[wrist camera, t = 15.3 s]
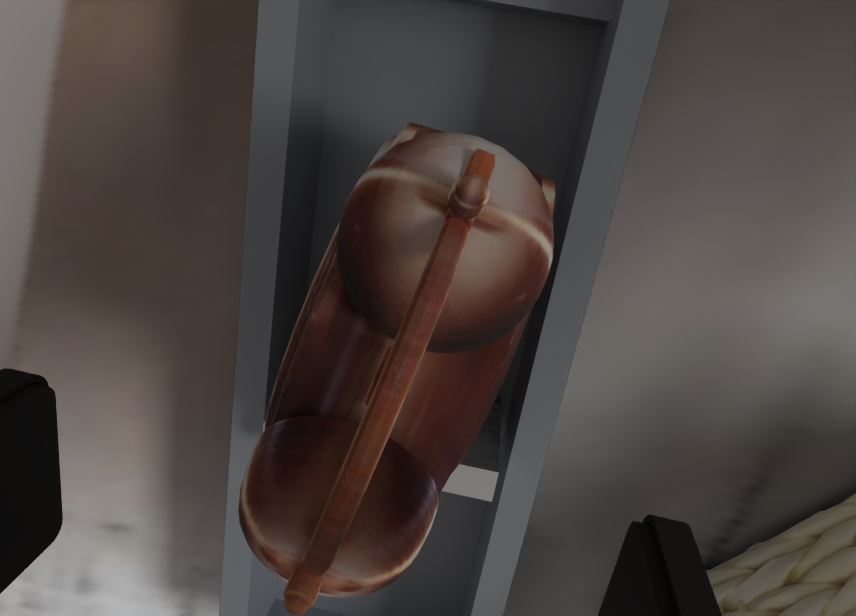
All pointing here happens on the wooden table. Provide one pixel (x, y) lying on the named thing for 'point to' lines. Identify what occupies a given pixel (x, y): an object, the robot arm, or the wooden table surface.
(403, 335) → the alarm clock
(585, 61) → the tray
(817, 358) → the wooden table surface
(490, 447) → the pusher plate
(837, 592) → the storage basket
